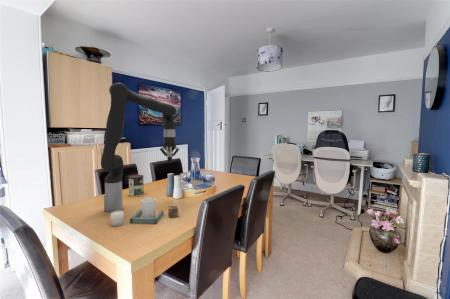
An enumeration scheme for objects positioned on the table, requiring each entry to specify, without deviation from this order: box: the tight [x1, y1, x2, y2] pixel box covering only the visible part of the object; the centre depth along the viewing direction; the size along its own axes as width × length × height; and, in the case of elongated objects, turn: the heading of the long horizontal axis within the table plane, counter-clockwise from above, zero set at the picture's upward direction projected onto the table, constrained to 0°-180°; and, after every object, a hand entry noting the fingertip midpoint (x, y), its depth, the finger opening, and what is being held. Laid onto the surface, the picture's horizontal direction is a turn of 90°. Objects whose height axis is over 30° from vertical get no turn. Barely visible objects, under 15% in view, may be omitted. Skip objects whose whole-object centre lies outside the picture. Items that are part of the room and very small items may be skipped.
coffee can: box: [128, 174, 145, 198], centre depth 164 cm, size 10×10×14 cm
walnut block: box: [167, 205, 179, 219], centre depth 126 cm, size 5×5×5 cm
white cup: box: [140, 197, 157, 218], centre depth 123 cm, size 8×8×10 cm
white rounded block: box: [110, 210, 125, 227], centre depth 114 cm, size 6×6×6 cm
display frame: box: [129, 209, 165, 225], centre depth 122 cm, size 14×12×2 cm
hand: (169, 162), depth 148 cm, fingers closed
